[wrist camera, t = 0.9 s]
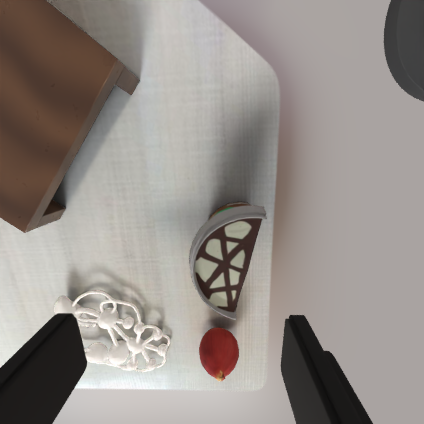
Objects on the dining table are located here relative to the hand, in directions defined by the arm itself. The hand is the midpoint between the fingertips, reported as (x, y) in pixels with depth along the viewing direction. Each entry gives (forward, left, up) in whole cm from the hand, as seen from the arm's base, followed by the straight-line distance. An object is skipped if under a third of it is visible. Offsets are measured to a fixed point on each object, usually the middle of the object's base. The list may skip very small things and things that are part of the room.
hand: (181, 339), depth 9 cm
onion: (+15, +14, -20) cm, 28 cm away
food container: (+1, +3, -20) cm, 20 cm away
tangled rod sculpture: (+25, -1, -20) cm, 32 cm away
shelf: (+3, -23, -20) cm, 31 cm away
